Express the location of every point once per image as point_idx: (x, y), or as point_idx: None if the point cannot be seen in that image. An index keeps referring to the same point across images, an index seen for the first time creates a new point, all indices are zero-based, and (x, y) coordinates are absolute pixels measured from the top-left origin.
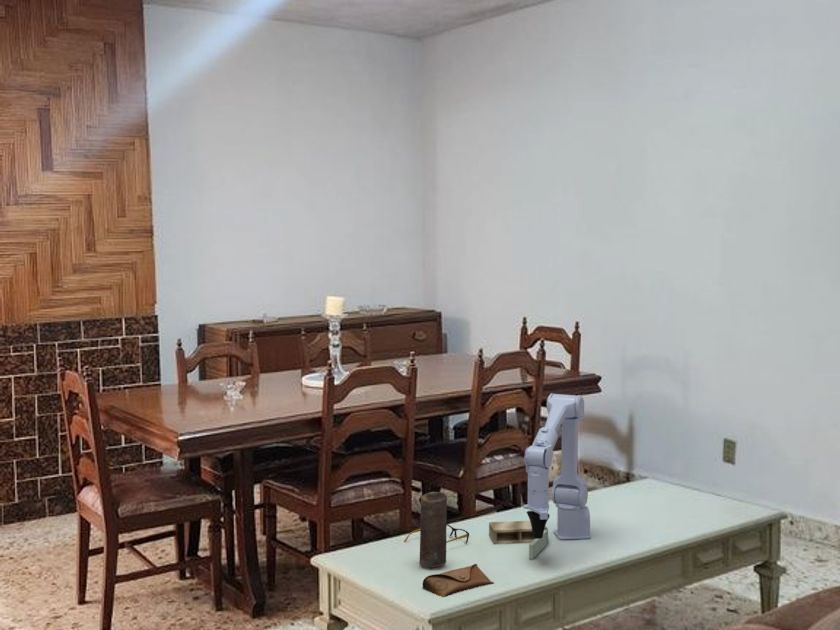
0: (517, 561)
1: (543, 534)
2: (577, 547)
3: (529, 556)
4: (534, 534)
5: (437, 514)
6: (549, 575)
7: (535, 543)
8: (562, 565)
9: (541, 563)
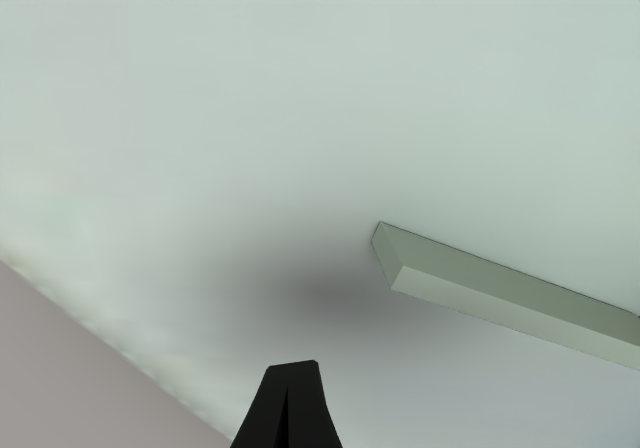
0: (344, 144)
1: (624, 365)
2: (534, 438)
3: (381, 229)
4: (252, 402)
5: None
6: (117, 308)
7: (452, 305)
8: None
9: (309, 281)
